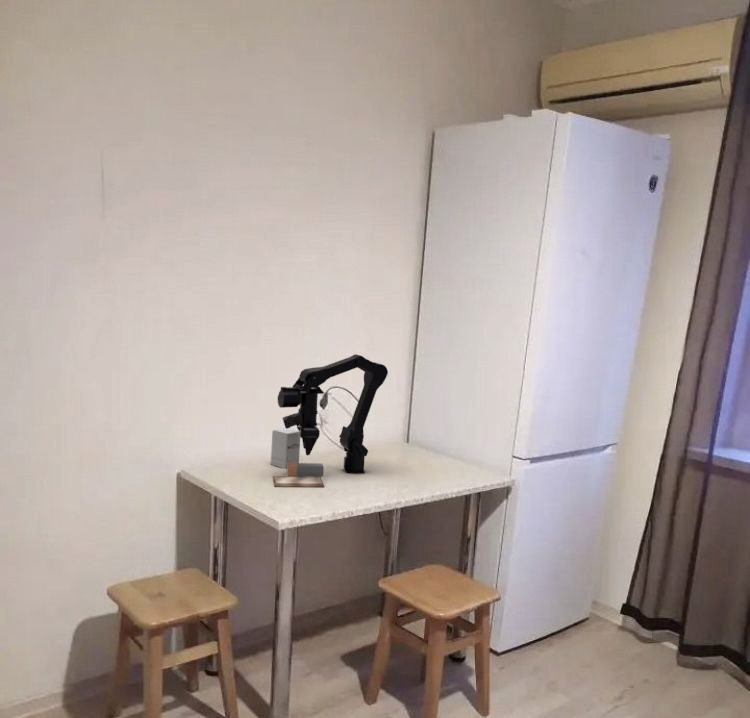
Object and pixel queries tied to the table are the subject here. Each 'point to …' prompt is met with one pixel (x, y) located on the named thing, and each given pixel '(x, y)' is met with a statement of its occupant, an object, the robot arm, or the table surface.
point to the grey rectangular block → (304, 469)
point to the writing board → (297, 481)
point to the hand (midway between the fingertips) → (306, 451)
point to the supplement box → (285, 447)
